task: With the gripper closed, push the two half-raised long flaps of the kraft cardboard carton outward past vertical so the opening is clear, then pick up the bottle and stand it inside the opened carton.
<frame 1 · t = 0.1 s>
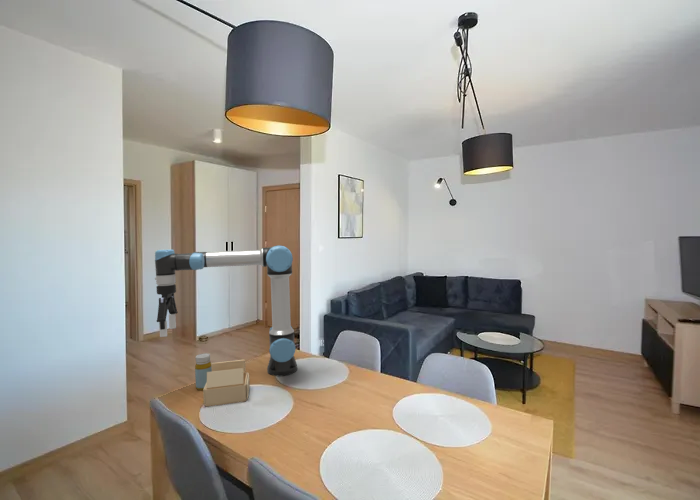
hand: (168, 332, 149), 28 cm above the table, fingers open, 13 cm apart
front flap: (225, 377, 141), point 11 cm above the table, hinge at 75.0°
bottle: (204, 387, 157), on the table
back flap: (228, 367, 152), point 11 cm above the table, hinge at 75.0°
carton: (228, 396, 147), on the table
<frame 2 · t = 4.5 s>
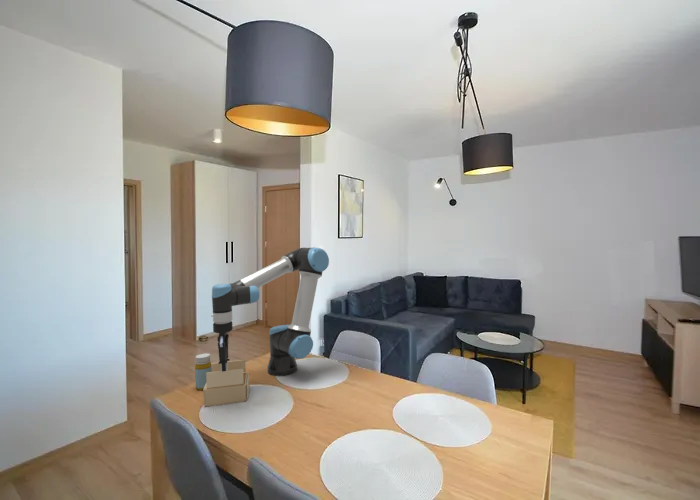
hand: (224, 377, 141), 11 cm above the table, fingers closed
front flap: (225, 378, 140), point 11 cm above the table, hinge at 87.4°, touching gripper
everything else where it was.
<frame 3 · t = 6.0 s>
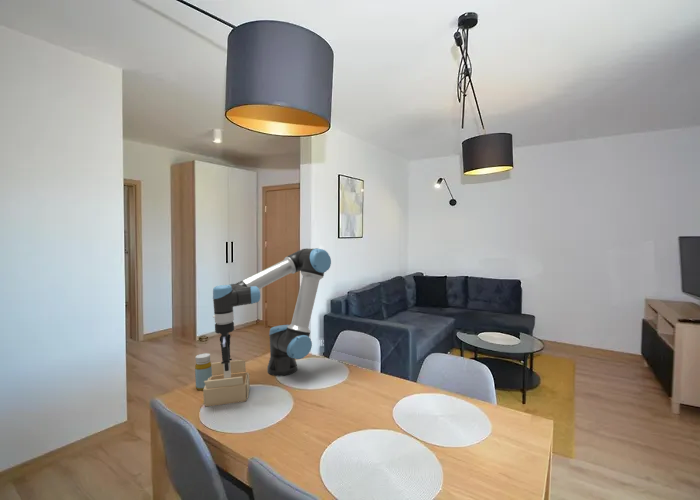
hand: (227, 377, 143), 10 cm above the table, fingers closed
front flap: (224, 382, 138), point 10 cm above the table, hinge at 131.6°
everything else where it was.
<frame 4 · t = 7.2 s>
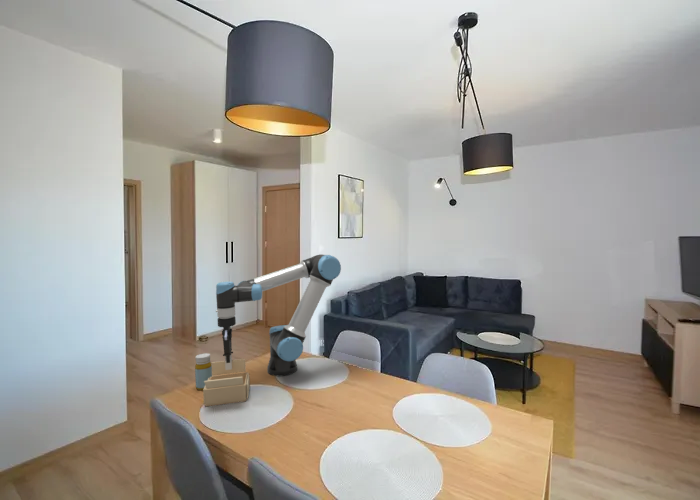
hand: (228, 369, 151), 10 cm above the table, fingers closed
back flap: (228, 367, 152), point 11 cm above the table, hinge at 80.6°, touching gripper
everything else where it was.
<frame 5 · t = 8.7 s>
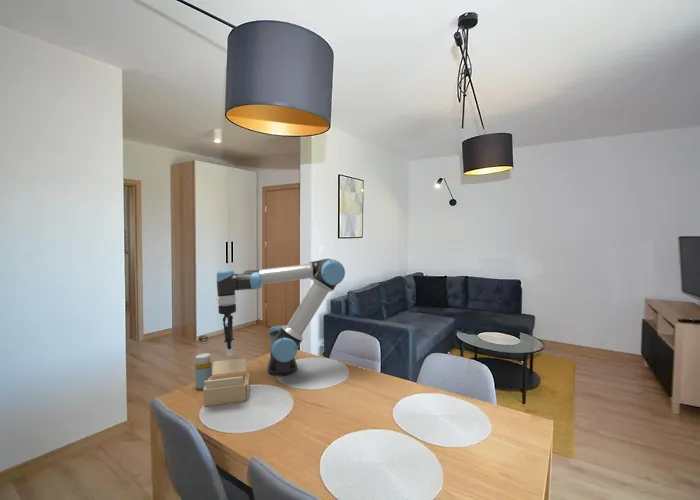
hand: (230, 355, 155), 15 cm above the table, fingers closed
back flap: (229, 366, 155), point 10 cm above the table, hinge at 131.6°
everything else where it was.
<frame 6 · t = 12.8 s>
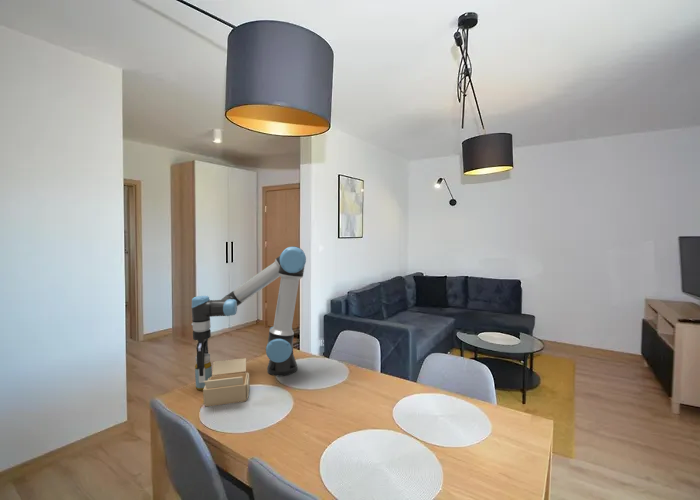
hand: (203, 378, 157), 4 cm above the table, fingers closed on bottle, 7 cm apart
bottle: (204, 387, 157), on the table, touching gripper
everything else where it was.
when the fingers open (7 cm above the table, at t = 18.7 s): bottle drops 2 cm, resting on carton.
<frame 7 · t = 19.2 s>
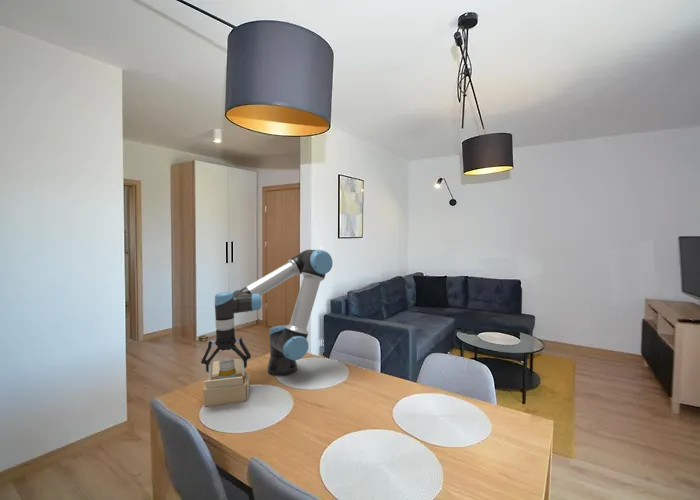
hand: (227, 376, 146), 9 cm above the table, fingers open, 13 cm apart
bottle: (228, 395, 147), resting on carton
everything else where it was.
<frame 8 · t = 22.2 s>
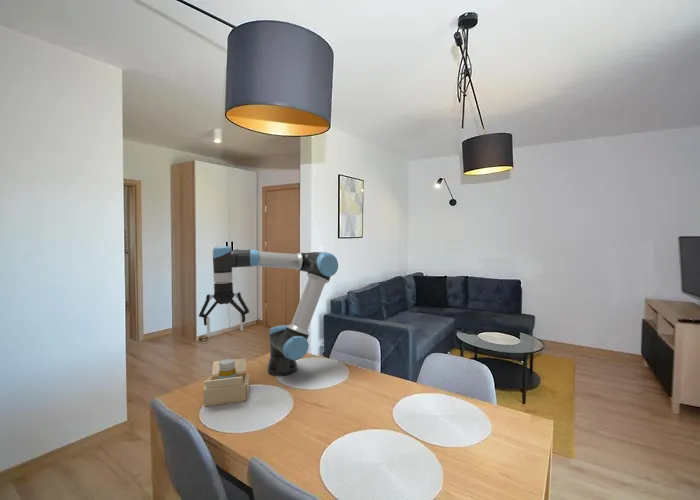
hand: (225, 331, 146), 29 cm above the table, fingers open, 13 cm apart
nothing on the table moved.
at the end: front flap at +132° (first picture: +75°); back flap at +132° (first picture: +75°); bottle inside the target area on the carton (0.1 cm from its centre), point 0.3 cm above the carton's base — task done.
